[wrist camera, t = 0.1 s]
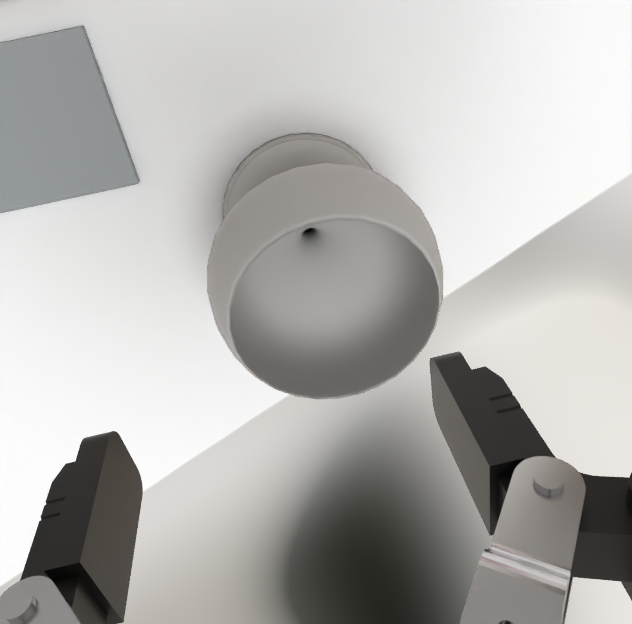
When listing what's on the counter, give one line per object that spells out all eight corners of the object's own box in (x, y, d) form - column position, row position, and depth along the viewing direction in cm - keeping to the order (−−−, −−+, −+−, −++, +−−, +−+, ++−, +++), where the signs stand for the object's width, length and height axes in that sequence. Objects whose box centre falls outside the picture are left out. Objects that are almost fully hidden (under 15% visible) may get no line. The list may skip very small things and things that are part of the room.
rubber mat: (-113, 65, 34) (-118, 67, 33) (83, 25, 34) (81, 26, 33) (-29, 216, 39) (-32, 220, 39) (139, 180, 39) (138, 183, 39)
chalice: (196, 275, 44) (185, 401, 32) (230, 95, 37) (233, 165, 25) (360, 303, 48) (409, 426, 35) (418, 144, 41) (504, 226, 28)
